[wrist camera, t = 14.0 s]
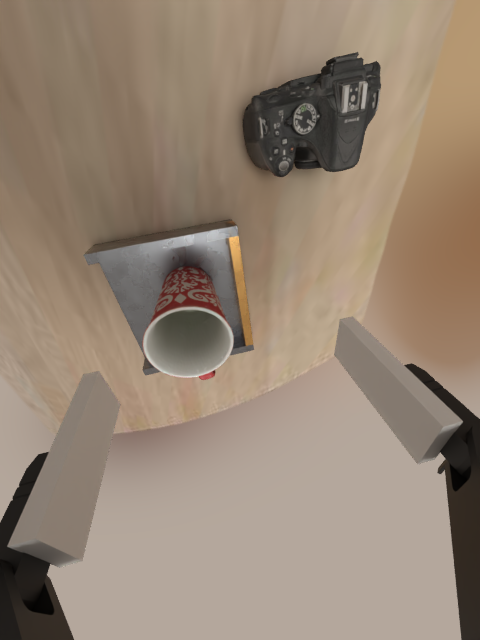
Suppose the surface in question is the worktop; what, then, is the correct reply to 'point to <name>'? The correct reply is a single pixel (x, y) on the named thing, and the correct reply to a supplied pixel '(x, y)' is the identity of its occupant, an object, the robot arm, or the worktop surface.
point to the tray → (167, 255)
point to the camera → (314, 118)
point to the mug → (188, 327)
